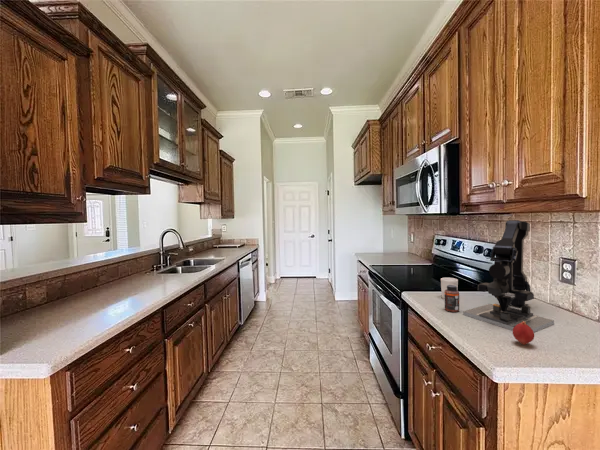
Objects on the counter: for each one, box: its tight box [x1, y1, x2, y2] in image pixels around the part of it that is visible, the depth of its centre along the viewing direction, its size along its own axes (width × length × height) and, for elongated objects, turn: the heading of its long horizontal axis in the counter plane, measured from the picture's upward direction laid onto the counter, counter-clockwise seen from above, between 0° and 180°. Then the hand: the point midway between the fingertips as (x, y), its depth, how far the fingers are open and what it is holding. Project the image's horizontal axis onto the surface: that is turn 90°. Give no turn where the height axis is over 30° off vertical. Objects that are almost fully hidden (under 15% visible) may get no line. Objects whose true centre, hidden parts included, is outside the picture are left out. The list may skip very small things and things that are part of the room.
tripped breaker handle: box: [492, 303, 502, 312], centre depth 121 cm, size 2×2×3 cm
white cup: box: [440, 277, 459, 300], centre depth 147 cm, size 8×8×10 cm
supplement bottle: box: [444, 285, 460, 313], centre depth 130 cm, size 6×6×11 cm
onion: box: [512, 321, 535, 346], centre depth 96 cm, size 6×6×8 cm
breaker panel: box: [462, 303, 555, 333], centre depth 118 cm, size 20×24×5 cm
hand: (504, 311), depth 119 cm, fingers closed
